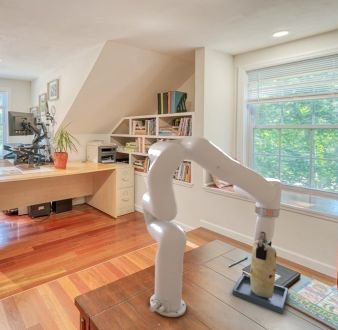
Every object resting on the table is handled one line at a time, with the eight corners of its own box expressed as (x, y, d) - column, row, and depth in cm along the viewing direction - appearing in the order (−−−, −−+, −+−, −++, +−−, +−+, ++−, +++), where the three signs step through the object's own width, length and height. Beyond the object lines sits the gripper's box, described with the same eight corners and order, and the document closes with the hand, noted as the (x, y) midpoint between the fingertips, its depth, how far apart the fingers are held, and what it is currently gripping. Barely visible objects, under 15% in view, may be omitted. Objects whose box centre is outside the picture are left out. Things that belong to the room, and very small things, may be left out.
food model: (278, 299, 95) (283, 249, 93) (263, 302, 94) (267, 250, 92) (257, 284, 105) (260, 238, 103) (242, 286, 104) (246, 240, 101)
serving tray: (282, 314, 89) (282, 308, 89) (232, 294, 99) (232, 289, 99) (287, 293, 100) (288, 288, 100) (242, 278, 111) (243, 273, 110)
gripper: (259, 204, 104) (256, 244, 106) (250, 214, 92) (246, 259, 94) (282, 208, 99) (278, 250, 101) (275, 219, 87) (271, 266, 89)
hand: (263, 254), depth 98 cm, fingers open, 9 cm apart
